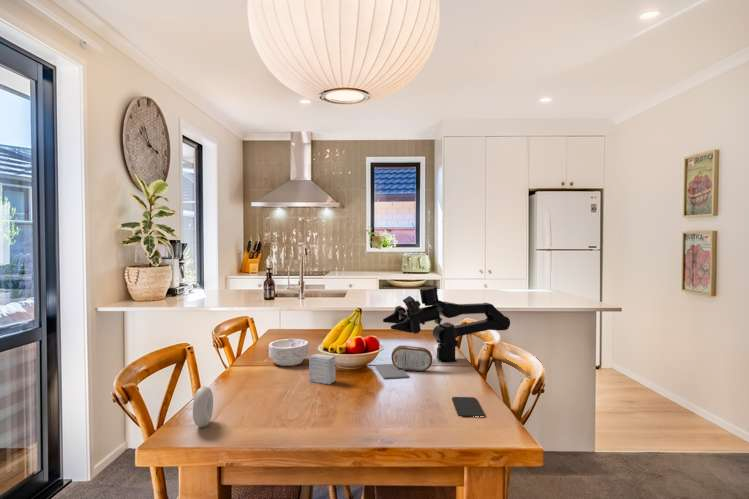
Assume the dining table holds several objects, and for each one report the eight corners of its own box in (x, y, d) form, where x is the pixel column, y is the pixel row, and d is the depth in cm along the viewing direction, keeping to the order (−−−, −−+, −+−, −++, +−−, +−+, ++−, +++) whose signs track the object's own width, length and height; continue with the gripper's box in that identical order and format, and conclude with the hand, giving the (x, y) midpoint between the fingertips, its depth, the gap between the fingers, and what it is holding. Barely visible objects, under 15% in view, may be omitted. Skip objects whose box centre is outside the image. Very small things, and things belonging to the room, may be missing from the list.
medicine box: (335, 381, 155) (335, 356, 155) (329, 385, 151) (329, 359, 151) (315, 378, 158) (315, 353, 158) (308, 381, 154) (308, 356, 154)
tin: (431, 370, 169) (433, 347, 169) (431, 372, 166) (433, 349, 165) (390, 366, 170) (392, 344, 170) (390, 368, 167) (391, 345, 167)
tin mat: (397, 365, 175) (397, 363, 175) (408, 377, 159) (408, 376, 159) (374, 366, 173) (374, 364, 173) (383, 379, 158) (383, 377, 158)
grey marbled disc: (201, 418, 123) (201, 381, 123) (214, 417, 123) (214, 380, 123) (190, 434, 113) (190, 394, 113) (205, 433, 113) (205, 393, 113)
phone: (475, 397, 140) (485, 415, 125) (475, 399, 140) (485, 418, 125) (451, 396, 140) (458, 415, 125) (451, 399, 140) (458, 418, 125)
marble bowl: (260, 365, 173) (260, 345, 173) (283, 356, 187) (283, 337, 187) (295, 370, 167) (295, 349, 167) (315, 360, 181) (315, 340, 181)
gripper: (412, 290, 187) (376, 298, 183) (431, 301, 170) (392, 310, 165) (416, 316, 189) (380, 324, 185) (435, 329, 172) (396, 339, 167)
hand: (386, 324), depth 176 cm, fingers open, 9 cm apart
